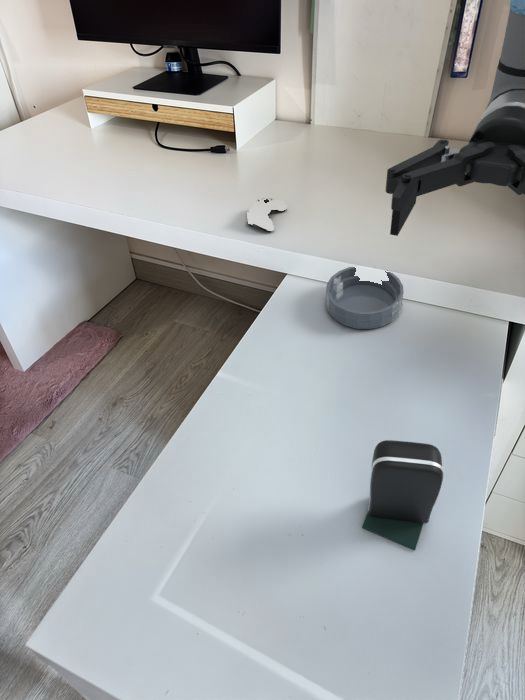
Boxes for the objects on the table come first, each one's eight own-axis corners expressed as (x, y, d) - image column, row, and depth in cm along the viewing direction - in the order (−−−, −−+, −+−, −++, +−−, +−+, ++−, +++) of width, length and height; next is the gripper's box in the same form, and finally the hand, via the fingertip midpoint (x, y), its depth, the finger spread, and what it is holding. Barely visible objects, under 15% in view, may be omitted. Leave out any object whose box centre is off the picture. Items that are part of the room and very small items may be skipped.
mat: (433, 489, 59) (434, 487, 59) (415, 550, 55) (415, 549, 54) (384, 470, 62) (384, 469, 61) (361, 528, 57) (362, 526, 57)
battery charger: (429, 494, 58) (445, 438, 50) (430, 525, 56) (447, 472, 48) (367, 487, 60) (373, 432, 52) (366, 517, 57) (372, 464, 49)
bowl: (410, 291, 84) (412, 274, 81) (387, 338, 77) (389, 321, 74) (342, 275, 88) (342, 259, 86) (315, 319, 81) (314, 302, 79)
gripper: (617, 183, 57) (607, 299, 44) (398, 156, 66) (339, 244, 54) (647, 115, 51) (645, 224, 39) (404, 95, 61) (340, 178, 48)
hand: (467, 236), depth 46 cm, fingers open, 13 cm apart
